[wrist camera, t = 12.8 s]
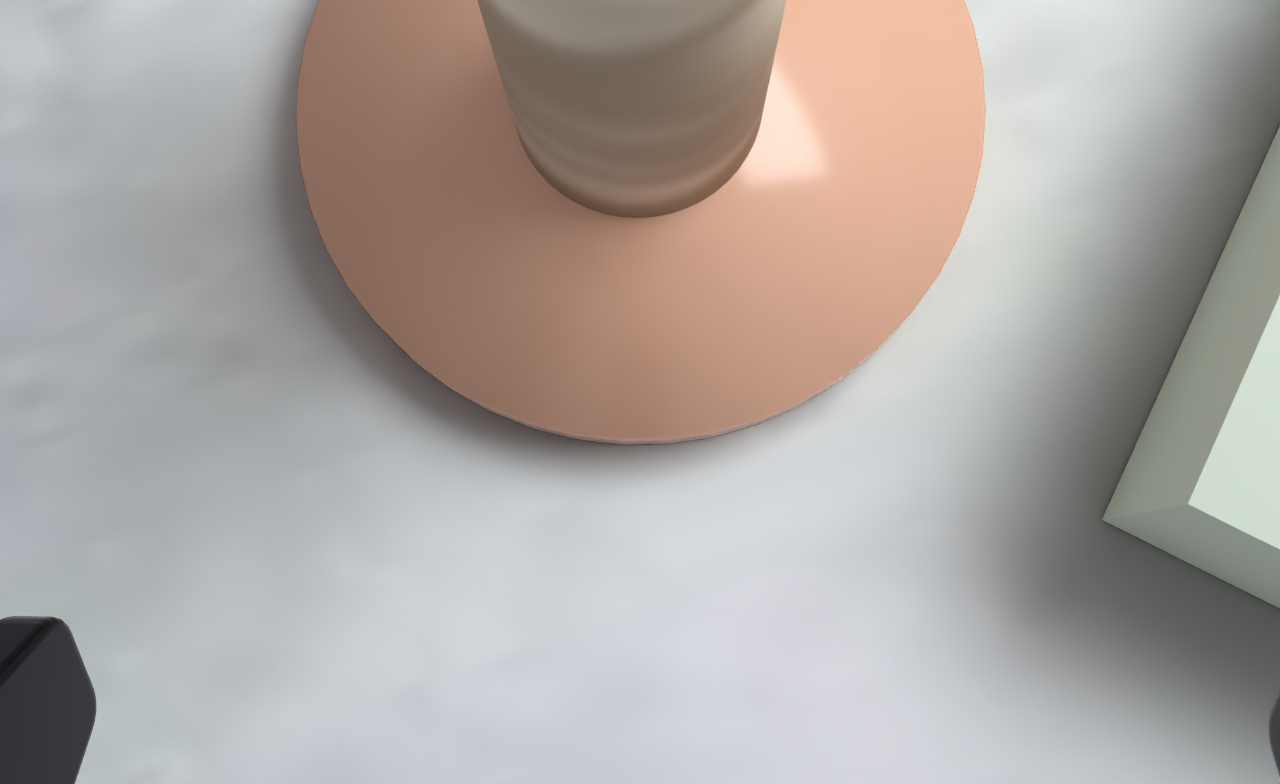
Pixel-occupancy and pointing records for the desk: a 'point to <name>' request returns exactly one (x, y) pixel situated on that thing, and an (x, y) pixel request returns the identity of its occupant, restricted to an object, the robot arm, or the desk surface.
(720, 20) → the beige cylinder
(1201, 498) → the socket block
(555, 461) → the desk surface
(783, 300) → the terracotta coaster
